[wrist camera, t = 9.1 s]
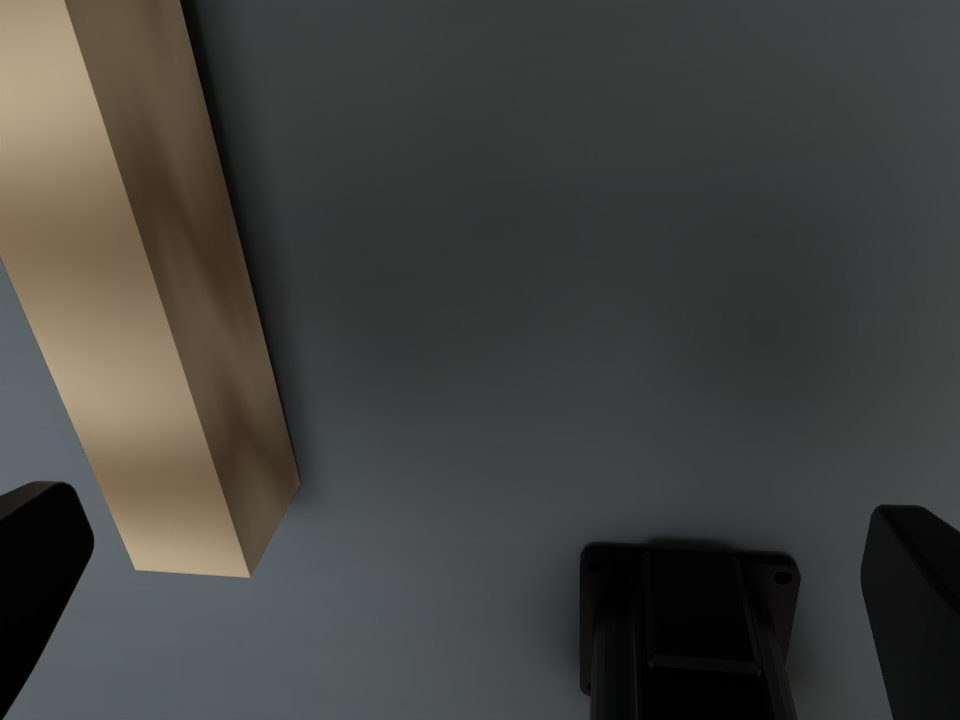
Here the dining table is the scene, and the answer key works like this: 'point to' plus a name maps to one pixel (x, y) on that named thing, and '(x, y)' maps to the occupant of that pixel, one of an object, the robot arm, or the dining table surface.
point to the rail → (140, 279)
